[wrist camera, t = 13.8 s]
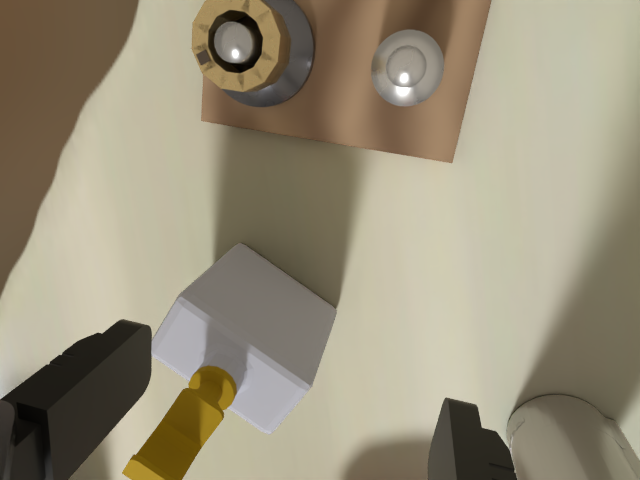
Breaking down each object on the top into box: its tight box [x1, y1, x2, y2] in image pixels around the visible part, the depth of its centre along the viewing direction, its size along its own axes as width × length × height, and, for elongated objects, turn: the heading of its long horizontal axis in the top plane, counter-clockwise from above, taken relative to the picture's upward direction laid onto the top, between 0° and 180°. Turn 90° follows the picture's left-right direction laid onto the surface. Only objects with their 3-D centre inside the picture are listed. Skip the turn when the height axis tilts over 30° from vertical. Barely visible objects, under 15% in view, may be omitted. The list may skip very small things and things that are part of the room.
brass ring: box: [192, 0, 292, 92], centre depth 33 cm, size 6×6×3 cm
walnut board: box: [201, 0, 491, 163], centre depth 37 cm, size 22×13×2 cm, turn 82°
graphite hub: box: [214, 0, 315, 107], centre depth 34 cm, size 9×9×6 cm
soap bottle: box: [122, 243, 337, 480], centre depth 35 cm, size 12×7×23 cm, turn 57°
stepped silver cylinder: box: [371, 30, 444, 106], centre depth 32 cm, size 5×5×6 cm
